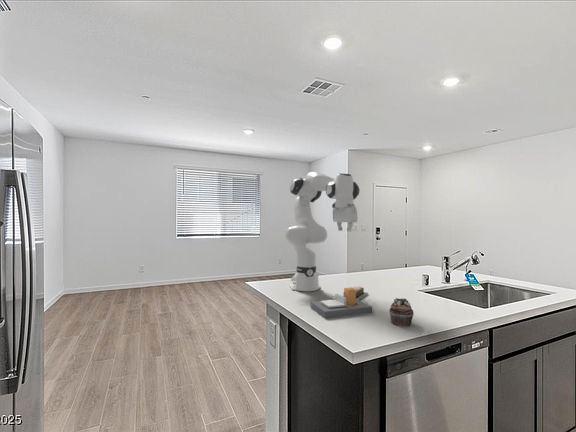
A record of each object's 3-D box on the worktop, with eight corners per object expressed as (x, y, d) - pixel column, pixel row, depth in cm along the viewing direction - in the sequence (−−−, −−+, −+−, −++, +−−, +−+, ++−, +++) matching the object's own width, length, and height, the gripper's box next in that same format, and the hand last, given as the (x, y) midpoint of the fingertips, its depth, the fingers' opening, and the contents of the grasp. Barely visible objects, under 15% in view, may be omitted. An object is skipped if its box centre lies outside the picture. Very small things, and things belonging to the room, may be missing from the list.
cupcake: (385, 319, 130) (385, 296, 130) (407, 319, 130) (407, 296, 130) (394, 327, 120) (394, 302, 120) (418, 327, 121) (418, 302, 121)
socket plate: (310, 308, 146) (310, 301, 146) (354, 303, 154) (354, 297, 154) (324, 318, 131) (324, 311, 131) (372, 313, 138) (372, 306, 138)
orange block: (344, 308, 145) (344, 288, 145) (351, 308, 146) (351, 287, 146) (348, 311, 141) (348, 289, 141) (355, 310, 143) (355, 289, 143)
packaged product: (357, 293, 157) (339, 291, 162) (357, 302, 157) (339, 300, 162) (368, 286, 172) (351, 284, 178) (368, 295, 172) (351, 293, 178)
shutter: (320, 302, 144) (320, 295, 144) (337, 300, 147) (337, 293, 147) (328, 307, 136) (328, 299, 136) (346, 306, 138) (346, 298, 138)
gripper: (360, 203, 147) (360, 231, 146) (340, 205, 166) (340, 230, 166) (349, 203, 145) (349, 232, 145) (330, 205, 164) (330, 230, 164)
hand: (344, 231), depth 155 cm, fingers open, 8 cm apart
